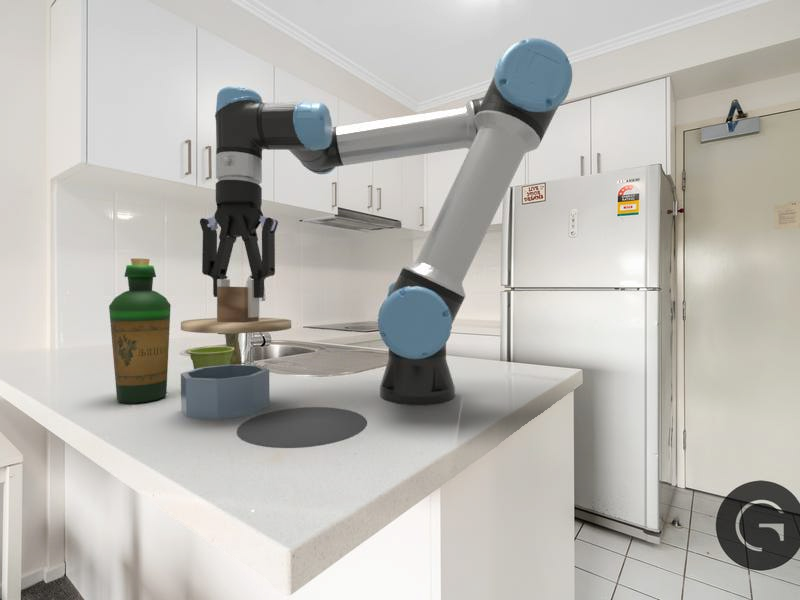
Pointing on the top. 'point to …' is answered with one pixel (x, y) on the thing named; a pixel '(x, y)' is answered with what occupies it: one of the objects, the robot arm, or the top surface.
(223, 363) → the plant pot
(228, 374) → the bowl
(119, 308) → the bottle
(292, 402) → the top surface
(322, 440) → the mat
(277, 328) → the lid
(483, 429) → the top surface
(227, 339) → the mushroom
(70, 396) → the top surface
